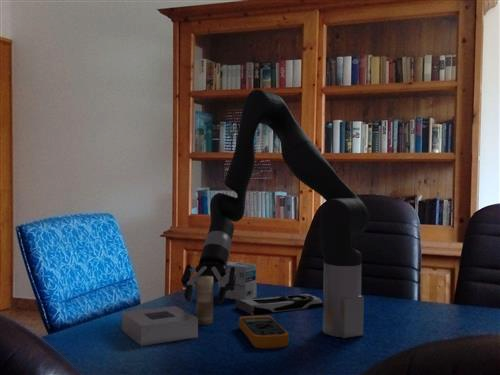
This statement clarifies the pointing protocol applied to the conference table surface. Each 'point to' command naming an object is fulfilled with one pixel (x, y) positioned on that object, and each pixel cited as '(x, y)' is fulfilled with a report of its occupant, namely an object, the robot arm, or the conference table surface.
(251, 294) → the light bulb box
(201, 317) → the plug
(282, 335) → the multimeter
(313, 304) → the graphics card
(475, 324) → the conference table surface
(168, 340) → the grey square socket block
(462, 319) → the conference table surface
